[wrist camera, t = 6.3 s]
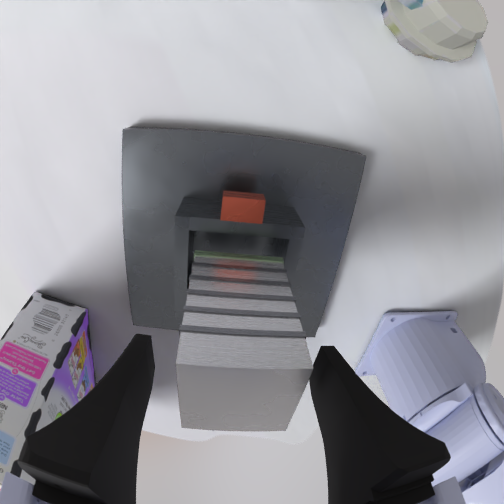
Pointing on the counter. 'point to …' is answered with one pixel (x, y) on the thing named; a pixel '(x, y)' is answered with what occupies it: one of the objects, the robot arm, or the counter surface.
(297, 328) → the column
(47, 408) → the candy box
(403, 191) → the counter surface
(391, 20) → the grey elongated piece
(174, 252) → the stand
